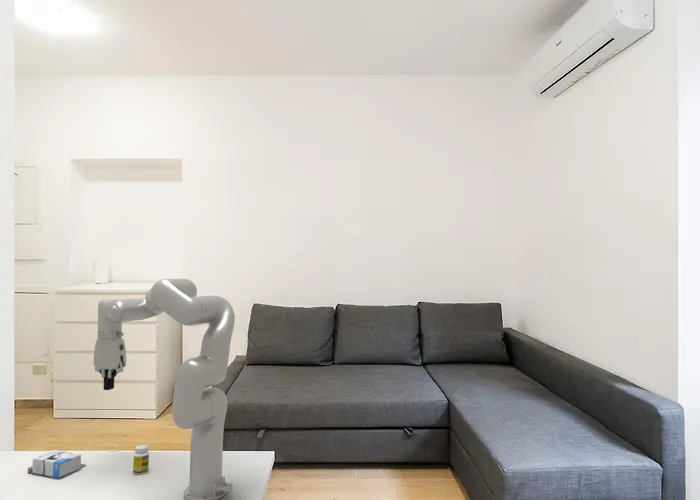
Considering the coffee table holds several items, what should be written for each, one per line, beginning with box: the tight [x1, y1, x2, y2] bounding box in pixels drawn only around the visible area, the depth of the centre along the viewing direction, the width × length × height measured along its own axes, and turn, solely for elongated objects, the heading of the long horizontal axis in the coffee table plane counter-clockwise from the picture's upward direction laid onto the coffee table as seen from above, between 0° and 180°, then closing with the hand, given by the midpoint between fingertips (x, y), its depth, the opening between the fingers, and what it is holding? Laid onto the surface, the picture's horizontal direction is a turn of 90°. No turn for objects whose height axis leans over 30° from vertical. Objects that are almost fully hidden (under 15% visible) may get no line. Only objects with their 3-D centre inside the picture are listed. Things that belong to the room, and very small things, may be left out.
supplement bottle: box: [132, 444, 150, 476], centre depth 165 cm, size 5×5×8 cm
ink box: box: [32, 449, 82, 479], centre depth 164 cm, size 8×5×12 cm
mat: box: [27, 463, 87, 480], centre depth 165 cm, size 13×11×2 cm
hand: (108, 389), depth 169 cm, fingers closed
